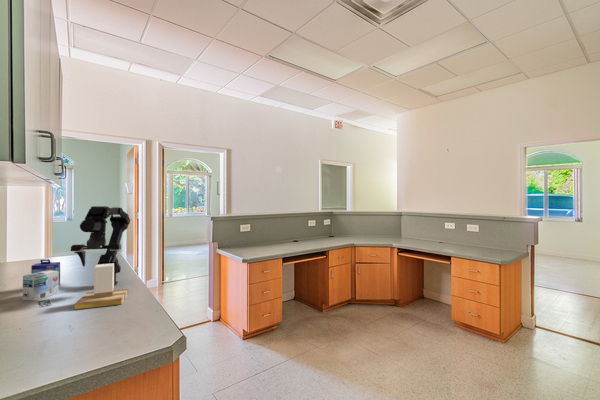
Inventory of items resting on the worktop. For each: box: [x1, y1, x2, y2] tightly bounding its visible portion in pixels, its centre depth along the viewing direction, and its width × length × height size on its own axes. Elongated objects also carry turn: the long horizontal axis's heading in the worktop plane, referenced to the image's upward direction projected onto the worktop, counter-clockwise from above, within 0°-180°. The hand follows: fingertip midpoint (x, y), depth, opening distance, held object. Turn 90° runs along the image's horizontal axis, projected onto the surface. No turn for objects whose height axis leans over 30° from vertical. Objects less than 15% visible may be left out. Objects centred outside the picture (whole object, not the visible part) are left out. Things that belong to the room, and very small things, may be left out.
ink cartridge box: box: [30, 259, 61, 287], centre depth 140 cm, size 10×6×14 cm, turn 112°
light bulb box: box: [22, 270, 60, 302], centre depth 127 cm, size 11×7×11 cm, turn 168°
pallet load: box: [93, 263, 115, 299], centre depth 122 cm, size 6×6×13 cm
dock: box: [74, 288, 129, 310], centre depth 122 cm, size 14×16×2 cm
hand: (95, 265), depth 132 cm, fingers open, 9 cm apart
